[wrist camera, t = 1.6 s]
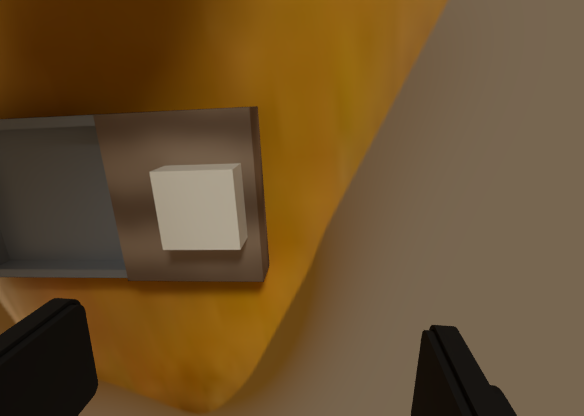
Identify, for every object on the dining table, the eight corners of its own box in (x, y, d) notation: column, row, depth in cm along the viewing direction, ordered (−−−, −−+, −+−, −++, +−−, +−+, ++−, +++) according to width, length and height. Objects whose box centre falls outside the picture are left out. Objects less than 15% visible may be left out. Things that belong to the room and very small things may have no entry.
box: (-37, 120, 30) (-68, 122, 28) (112, 113, 29) (93, 114, 26) (10, 264, 34) (-14, 276, 32) (142, 264, 33) (128, 277, 30)
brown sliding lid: (116, 113, 29) (92, 114, 26) (257, 106, 27) (249, 107, 24) (145, 264, 33) (128, 280, 30) (269, 265, 31) (263, 281, 29)
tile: (164, 165, 26) (149, 171, 24) (240, 163, 26) (232, 169, 23) (176, 237, 28) (163, 249, 26) (247, 237, 27) (240, 249, 25)
